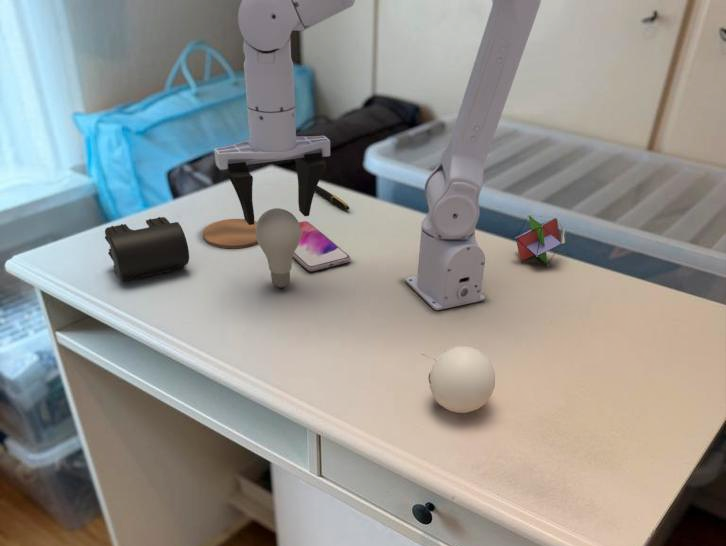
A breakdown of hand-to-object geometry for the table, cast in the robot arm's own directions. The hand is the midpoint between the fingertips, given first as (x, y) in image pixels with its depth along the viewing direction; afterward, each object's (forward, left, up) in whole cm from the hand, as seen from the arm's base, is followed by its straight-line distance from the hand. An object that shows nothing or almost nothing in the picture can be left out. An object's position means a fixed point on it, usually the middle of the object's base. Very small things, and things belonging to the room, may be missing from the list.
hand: (277, 217), depth 95 cm
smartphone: (+10, -8, -10) cm, 16 cm away
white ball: (-33, -9, -10) cm, 36 cm away
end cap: (+11, +16, -10) cm, 22 cm away
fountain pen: (+27, -18, -10) cm, 35 cm away
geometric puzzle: (-6, -39, -10) cm, 41 cm away
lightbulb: (0, 0, -10) cm, 10 cm away
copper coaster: (+19, +1, -10) cm, 21 cm away
